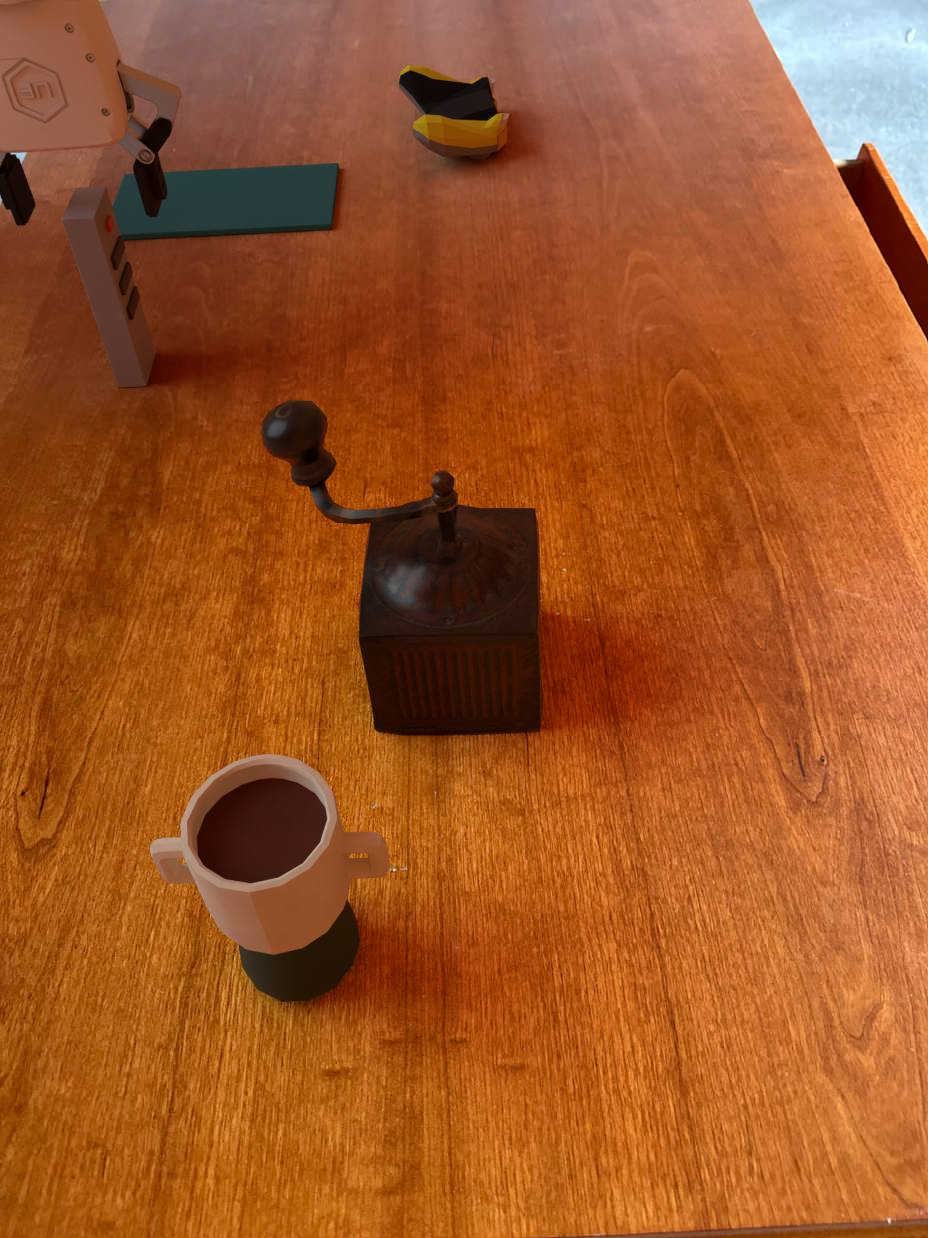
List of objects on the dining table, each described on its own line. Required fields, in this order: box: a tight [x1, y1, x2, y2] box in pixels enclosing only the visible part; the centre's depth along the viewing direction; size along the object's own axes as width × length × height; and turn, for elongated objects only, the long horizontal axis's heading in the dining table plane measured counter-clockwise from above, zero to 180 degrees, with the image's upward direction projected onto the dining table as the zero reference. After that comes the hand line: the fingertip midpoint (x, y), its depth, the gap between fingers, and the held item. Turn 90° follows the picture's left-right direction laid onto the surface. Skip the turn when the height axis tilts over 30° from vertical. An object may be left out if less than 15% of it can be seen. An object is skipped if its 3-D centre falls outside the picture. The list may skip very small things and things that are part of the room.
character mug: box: [149, 753, 391, 1003], centre depth 55 cm, size 11×7×13 cm, turn 90°
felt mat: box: [112, 162, 340, 241], centre depth 113 cm, size 22×12×1 cm, turn 91°
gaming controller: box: [398, 64, 510, 160], centre depth 118 cm, size 15×6×10 cm
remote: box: [61, 185, 157, 388], centre depth 89 cm, size 3×5×15 cm, turn 1°
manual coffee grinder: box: [260, 399, 544, 736], centre depth 66 cm, size 16×11×18 cm
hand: (91, 212), depth 84 cm, fingers open, 9 cm apart
